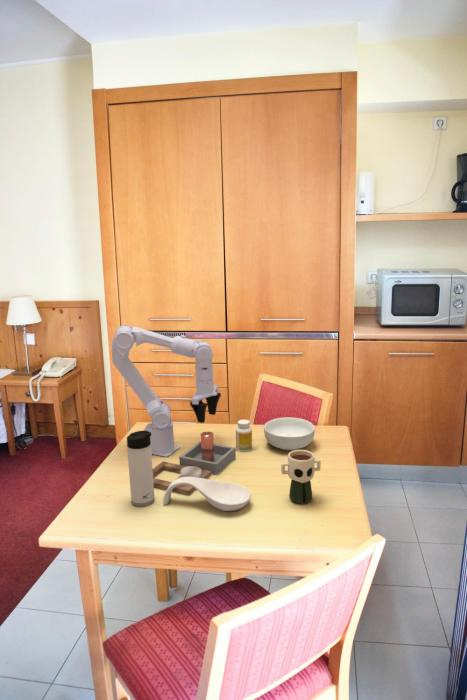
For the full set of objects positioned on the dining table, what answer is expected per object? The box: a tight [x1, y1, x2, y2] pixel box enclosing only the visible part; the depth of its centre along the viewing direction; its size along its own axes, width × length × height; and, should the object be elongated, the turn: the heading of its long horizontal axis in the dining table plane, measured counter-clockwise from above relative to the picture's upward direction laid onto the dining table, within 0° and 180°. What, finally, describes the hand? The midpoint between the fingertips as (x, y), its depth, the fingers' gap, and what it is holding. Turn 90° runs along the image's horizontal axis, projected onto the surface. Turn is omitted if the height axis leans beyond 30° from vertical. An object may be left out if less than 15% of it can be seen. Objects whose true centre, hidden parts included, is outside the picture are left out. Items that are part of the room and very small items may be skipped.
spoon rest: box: [162, 477, 252, 512], centre depth 144 cm, size 24×12×7 cm, turn 82°
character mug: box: [280, 449, 322, 504], centre depth 145 cm, size 11×7×13 cm, turn 100°
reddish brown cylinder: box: [200, 431, 215, 462], centre depth 168 cm, size 4×4×9 cm
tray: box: [179, 440, 237, 476], centre depth 169 cm, size 13×13×4 cm
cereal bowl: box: [263, 416, 316, 451], centre depth 180 cm, size 17×17×7 cm
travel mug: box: [126, 430, 155, 508], centre depth 145 cm, size 6×7×20 cm
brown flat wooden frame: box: [152, 460, 212, 496], centre depth 158 cm, size 17×13×4 cm
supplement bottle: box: [235, 419, 253, 453], centre depth 178 cm, size 5×5×10 cm
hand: (206, 418), depth 178 cm, fingers open, 7 cm apart
